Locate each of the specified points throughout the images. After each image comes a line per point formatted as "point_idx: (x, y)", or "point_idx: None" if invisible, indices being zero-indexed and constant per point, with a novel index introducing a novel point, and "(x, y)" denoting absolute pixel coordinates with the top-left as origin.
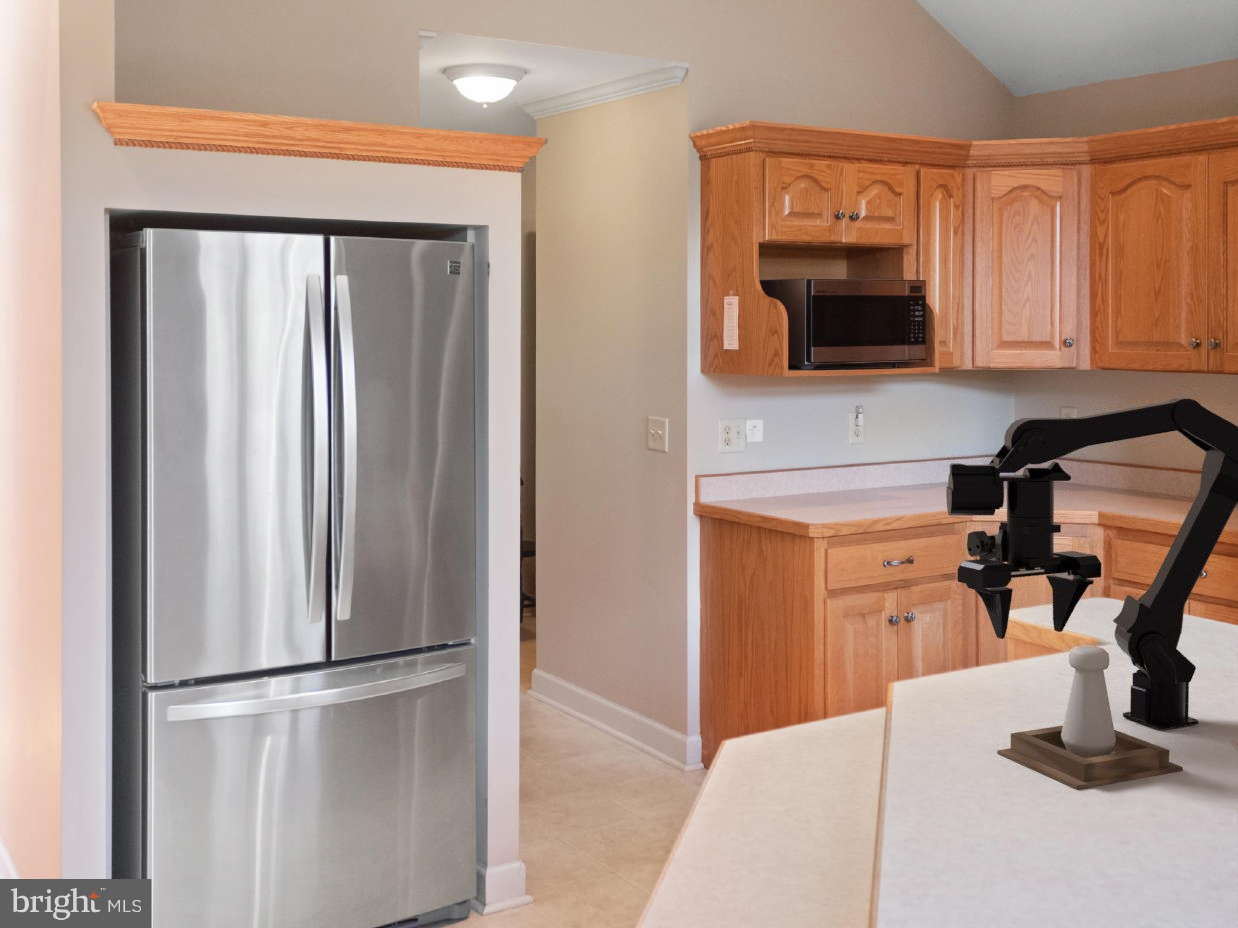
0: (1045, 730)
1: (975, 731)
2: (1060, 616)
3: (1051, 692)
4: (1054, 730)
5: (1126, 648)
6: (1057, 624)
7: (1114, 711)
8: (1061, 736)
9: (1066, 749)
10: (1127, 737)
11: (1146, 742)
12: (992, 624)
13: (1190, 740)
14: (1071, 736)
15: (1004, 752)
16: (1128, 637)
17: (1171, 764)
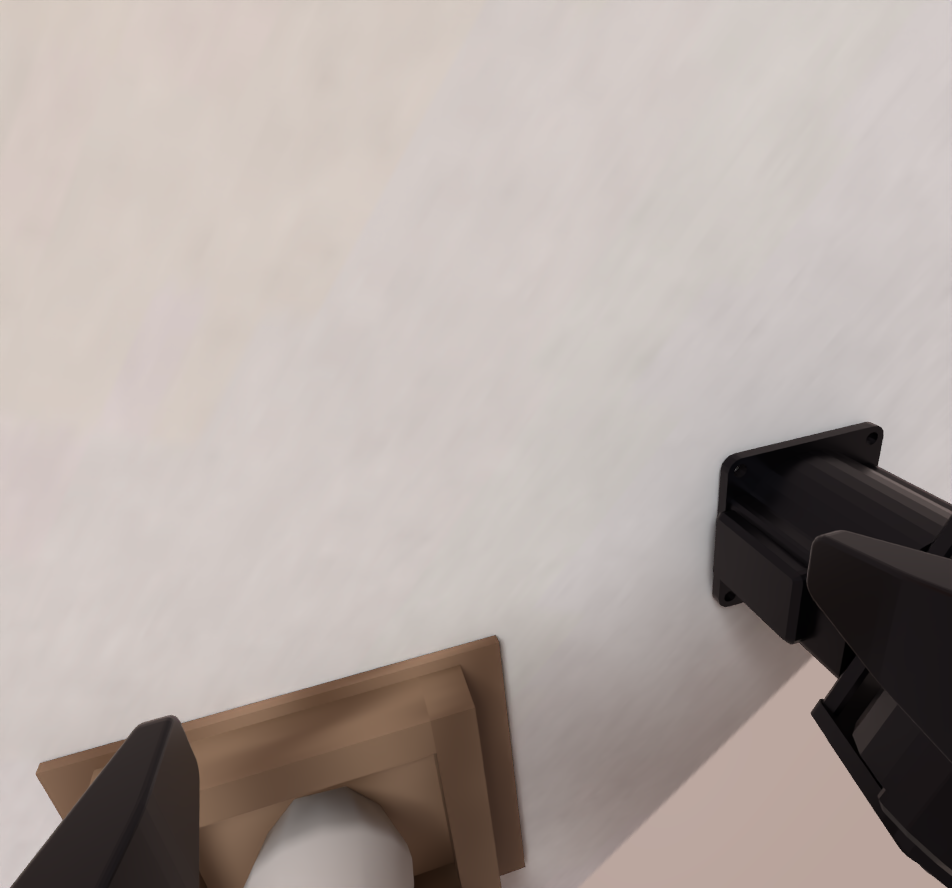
0: (242, 796)
1: (47, 520)
2: (928, 689)
3: (754, 9)
4: (276, 796)
5: (893, 761)
6: (856, 604)
7: (755, 380)
8: (251, 876)
9: (254, 863)
10: (472, 843)
11: (491, 877)
12: (41, 855)
13: (714, 671)
14: None
15: (55, 793)
16: (944, 839)
17: (512, 854)
